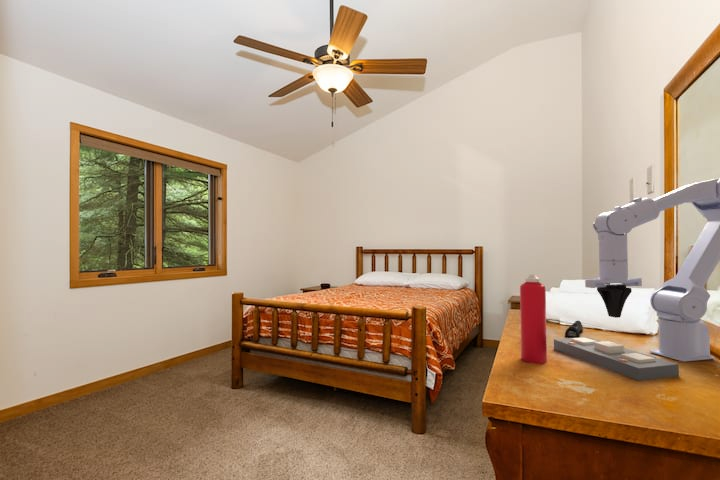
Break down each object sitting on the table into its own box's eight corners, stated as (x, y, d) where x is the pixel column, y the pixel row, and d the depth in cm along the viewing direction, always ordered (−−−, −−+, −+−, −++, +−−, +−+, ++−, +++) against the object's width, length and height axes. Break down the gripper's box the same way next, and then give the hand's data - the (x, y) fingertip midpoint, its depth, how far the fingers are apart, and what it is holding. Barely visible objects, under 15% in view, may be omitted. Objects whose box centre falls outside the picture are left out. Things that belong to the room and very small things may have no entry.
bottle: (549, 364, 83) (547, 275, 83) (522, 362, 84) (521, 275, 85) (544, 357, 88) (542, 274, 88) (519, 355, 90) (518, 273, 90)
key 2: (636, 367, 80) (636, 352, 80) (654, 373, 76) (654, 358, 76) (621, 369, 79) (621, 354, 80) (639, 375, 76) (638, 359, 76)
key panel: (586, 346, 97) (586, 336, 97) (679, 376, 75) (678, 363, 75) (553, 349, 95) (553, 338, 95) (639, 380, 72) (638, 367, 73)
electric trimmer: (585, 330, 117) (585, 320, 117) (579, 340, 105) (579, 328, 105) (572, 329, 119) (572, 319, 120) (564, 338, 107) (564, 327, 107)
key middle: (608, 354, 87) (608, 341, 87) (623, 359, 83) (623, 345, 83) (594, 355, 86) (594, 342, 86) (609, 360, 82) (609, 346, 82)
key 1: (584, 349, 94) (584, 337, 94) (597, 354, 90) (597, 341, 90) (571, 351, 93) (571, 338, 93) (584, 355, 89) (583, 342, 89)
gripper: (622, 259, 95) (623, 312, 94) (574, 260, 91) (575, 315, 91) (649, 260, 88) (650, 317, 88) (598, 261, 85) (600, 320, 84)
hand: (614, 316), depth 89 cm, fingers closed
